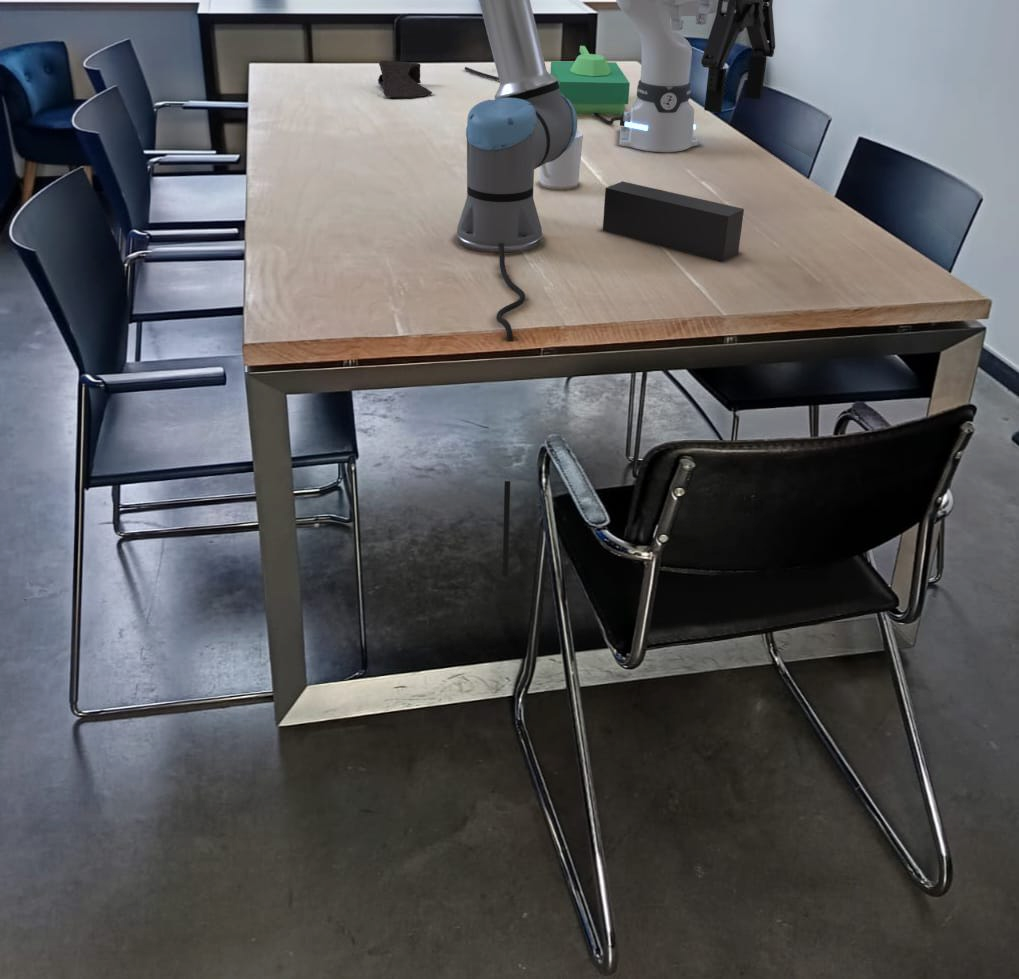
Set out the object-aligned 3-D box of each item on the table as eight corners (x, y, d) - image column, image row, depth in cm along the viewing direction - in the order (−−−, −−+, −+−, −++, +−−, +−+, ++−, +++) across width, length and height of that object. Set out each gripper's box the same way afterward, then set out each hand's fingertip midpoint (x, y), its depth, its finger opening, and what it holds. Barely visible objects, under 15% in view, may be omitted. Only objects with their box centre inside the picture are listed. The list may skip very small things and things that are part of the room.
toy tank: (613, 42, 301) (631, 67, 272) (609, 89, 308) (626, 118, 278) (549, 41, 300) (560, 66, 271) (547, 88, 307) (557, 117, 277)
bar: (738, 253, 193) (744, 208, 188) (722, 261, 189) (728, 216, 185) (619, 223, 206) (622, 181, 201) (602, 230, 202) (605, 187, 198)
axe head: (443, 87, 294) (392, 77, 287) (436, 115, 299) (385, 106, 292) (421, 62, 307) (371, 52, 300) (414, 89, 311) (365, 80, 304)
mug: (554, 175, 232) (556, 125, 226) (589, 183, 227) (592, 132, 222) (522, 186, 224) (523, 135, 219) (557, 195, 220) (559, 142, 214)
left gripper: (766, -47, 178) (748, 89, 189) (688, -35, 161) (674, 113, 173) (809, -43, 174) (788, 95, 185) (733, -31, 158) (715, 121, 169)
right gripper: (708, -59, 210) (700, 19, 217) (653, -52, 196) (647, 31, 203) (738, -57, 207) (729, 22, 214) (684, -49, 193) (677, 35, 200)
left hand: (733, 104), depth 179 cm, fingers open, 13 cm apart
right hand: (688, 27), depth 208 cm, fingers open, 8 cm apart
